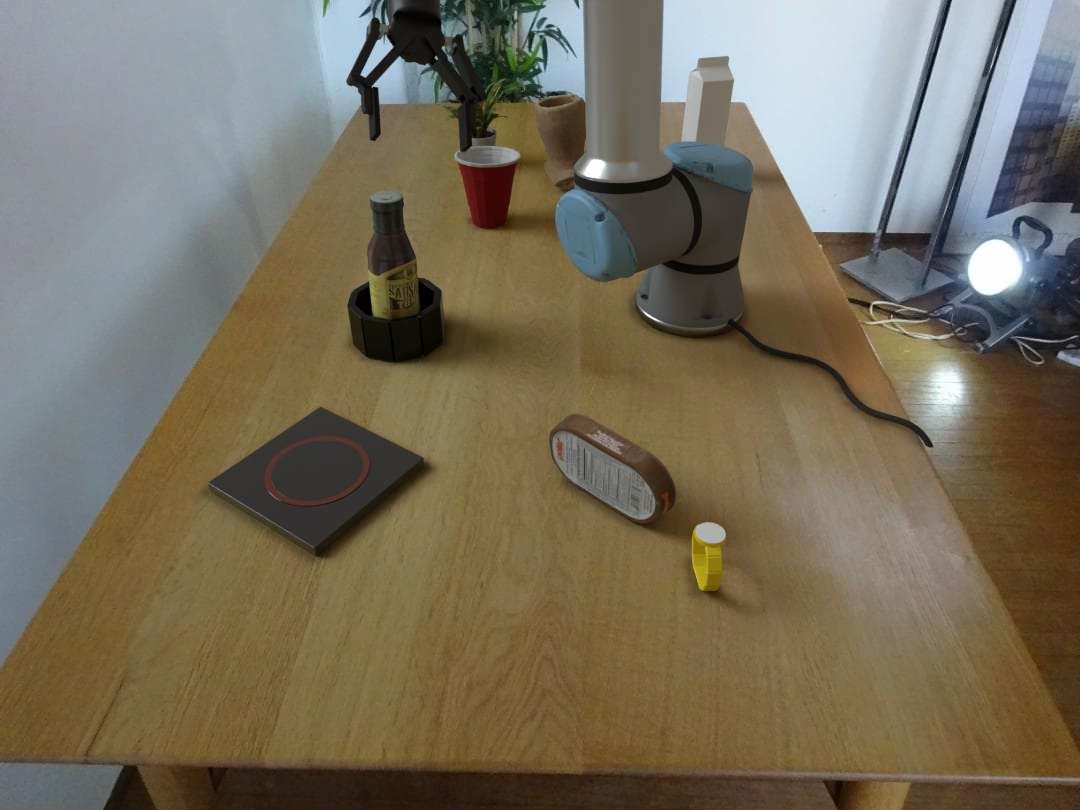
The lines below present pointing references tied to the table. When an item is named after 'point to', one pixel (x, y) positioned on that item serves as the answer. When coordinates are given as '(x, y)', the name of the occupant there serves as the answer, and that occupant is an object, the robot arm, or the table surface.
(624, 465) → the tin
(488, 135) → the house plant
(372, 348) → the bottle holder
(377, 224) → the sauce bottle
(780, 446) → the table surface
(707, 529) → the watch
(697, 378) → the table surface
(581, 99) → the clay boot vase
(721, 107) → the milk
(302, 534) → the hob plate
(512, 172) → the plastic cup
